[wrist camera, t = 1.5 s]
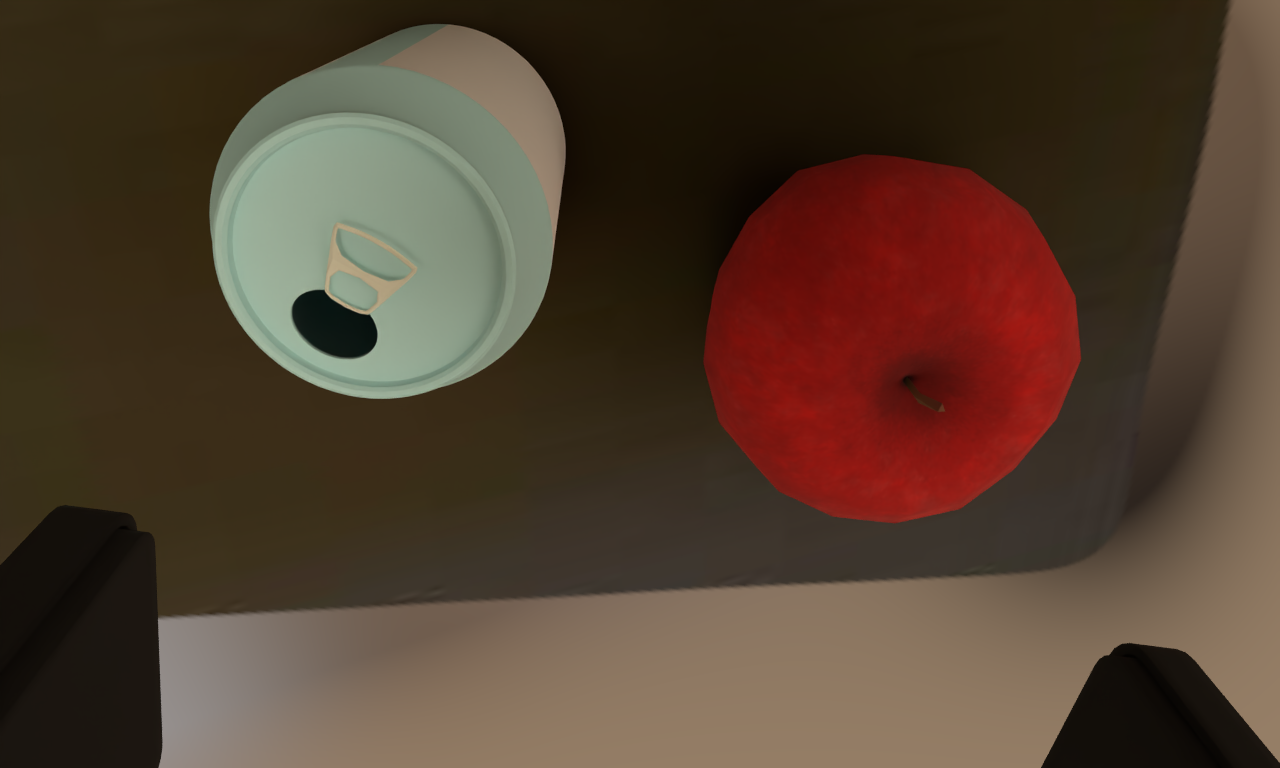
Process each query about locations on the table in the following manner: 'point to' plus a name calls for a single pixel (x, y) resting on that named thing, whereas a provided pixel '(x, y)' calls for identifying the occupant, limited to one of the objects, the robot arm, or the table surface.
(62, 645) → the robot arm
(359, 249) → the can
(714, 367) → the apple
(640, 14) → the table surface
